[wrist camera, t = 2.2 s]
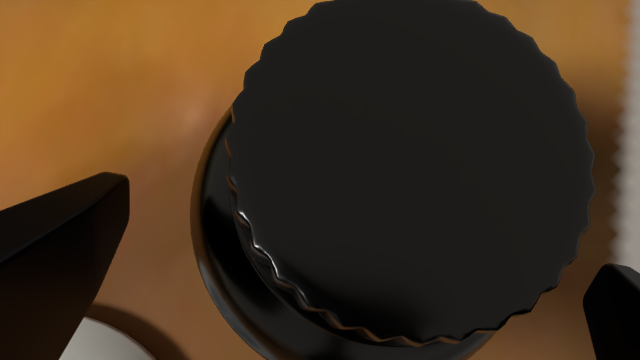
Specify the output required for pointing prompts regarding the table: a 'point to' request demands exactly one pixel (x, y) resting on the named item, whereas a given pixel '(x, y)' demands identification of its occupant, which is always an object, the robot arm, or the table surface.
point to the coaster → (103, 344)
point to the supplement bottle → (391, 184)
